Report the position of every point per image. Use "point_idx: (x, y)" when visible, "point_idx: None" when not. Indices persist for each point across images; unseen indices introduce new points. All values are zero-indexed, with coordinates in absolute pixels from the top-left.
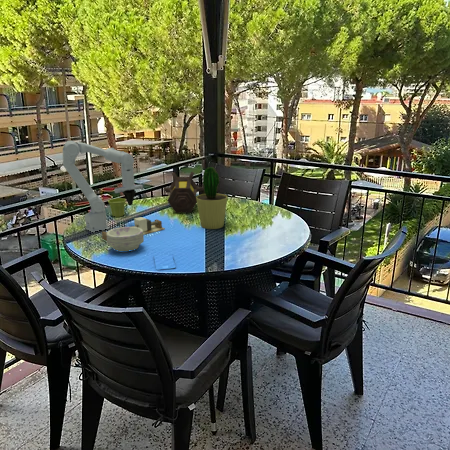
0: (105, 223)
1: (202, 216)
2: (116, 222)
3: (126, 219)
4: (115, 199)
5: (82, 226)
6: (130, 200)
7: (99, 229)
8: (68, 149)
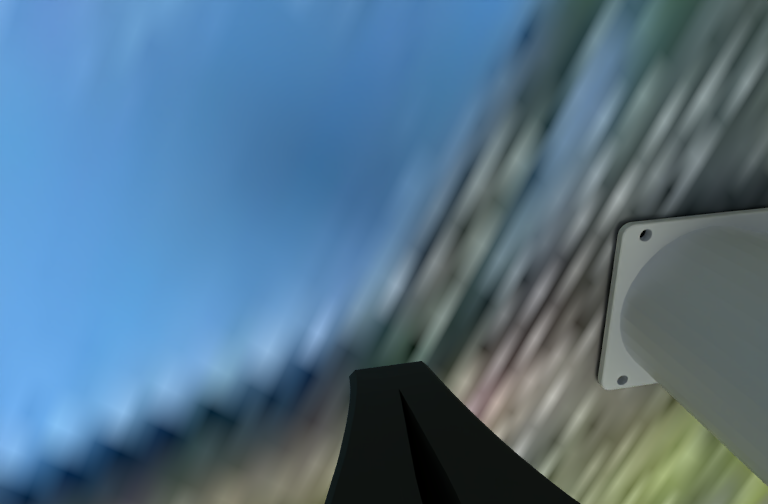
0: (713, 267)
1: None
2: None
3: (297, 455)
4: None
5: None
6: (460, 443)
7: (750, 230)
8: None
